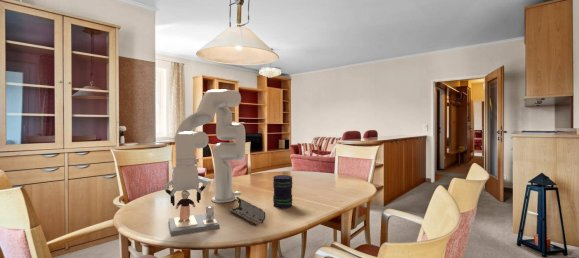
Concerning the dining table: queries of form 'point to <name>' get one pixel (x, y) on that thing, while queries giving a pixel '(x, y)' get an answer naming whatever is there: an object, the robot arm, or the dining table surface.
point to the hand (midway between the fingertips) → (185, 203)
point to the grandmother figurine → (185, 206)
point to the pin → (209, 214)
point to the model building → (249, 211)
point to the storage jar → (282, 191)
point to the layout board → (191, 224)
